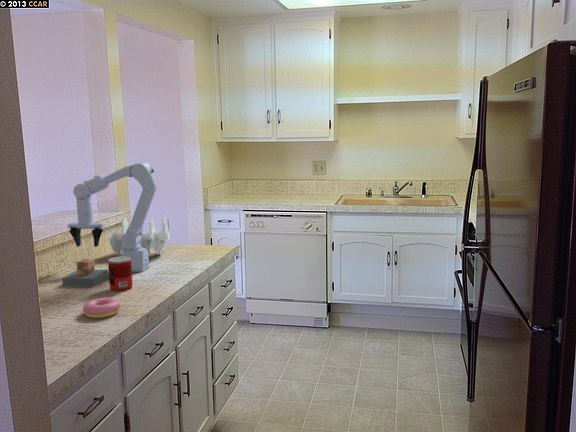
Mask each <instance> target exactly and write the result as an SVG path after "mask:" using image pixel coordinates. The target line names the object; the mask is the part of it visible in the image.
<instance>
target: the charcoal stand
mask: <svg viewBox="0 0 576 432" xmlns="http://www.w3.org/2000/svg"><path fill="white" fill-rule="evenodd" d="M61 279H62V281H61V283H62V287H88V288H89V287H90V288H91V287H92V288H93V287H95V286H98V285H99V284H101V283H102V282H104V281H105V280H106V279H109V269H95V272H94V273H92V274H90V275H77V269H76V270H75V271H73V272H71V273H69V274H67V275H66V276H63V277H62V278H61Z"/></svg>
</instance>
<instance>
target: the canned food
mask: <svg viewBox="0 0 576 432" xmlns="http://www.w3.org/2000/svg"><path fill="white" fill-rule="evenodd" d="M107 264H108V265H107V266H108V267H107V268H108V269H107V270H108V275H109V277H108V279H109V288H110V290H111V291H112V292H125V291H129V290H131V289H132V288H133V285H134V283H133V272H132V265H131V257H127V256H122V255H121V256H120V255H119V256H114V257H110V258H109V259H108V260H107Z"/></svg>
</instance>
